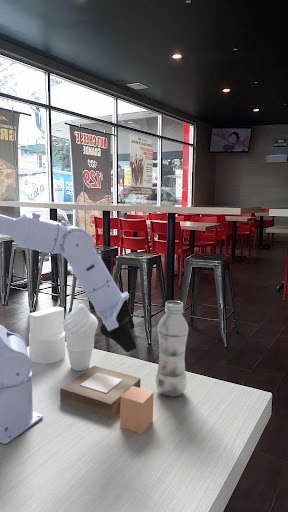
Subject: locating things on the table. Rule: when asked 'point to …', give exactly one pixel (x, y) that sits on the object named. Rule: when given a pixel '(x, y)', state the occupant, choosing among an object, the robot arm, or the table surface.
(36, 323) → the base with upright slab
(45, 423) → the table surface
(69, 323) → the soft serve ice cream cone
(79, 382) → the walnut pedestal
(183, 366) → the plastic bottle
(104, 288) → the robot arm
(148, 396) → the terracotta cube
